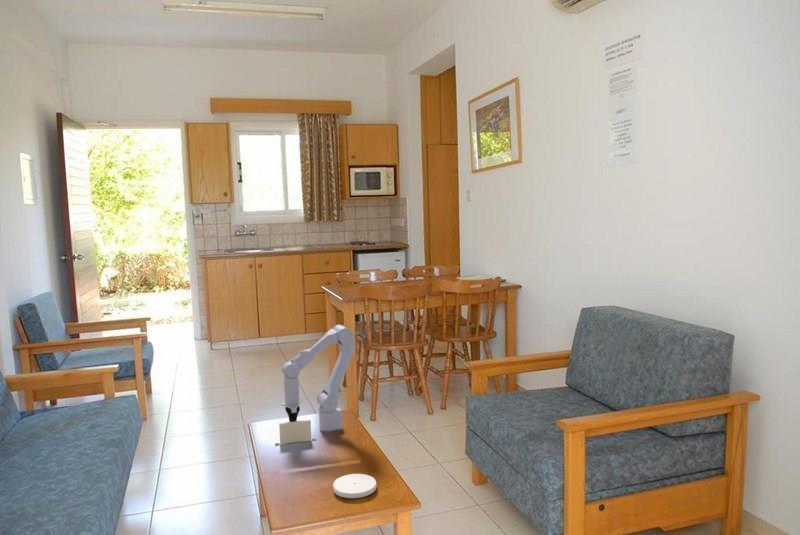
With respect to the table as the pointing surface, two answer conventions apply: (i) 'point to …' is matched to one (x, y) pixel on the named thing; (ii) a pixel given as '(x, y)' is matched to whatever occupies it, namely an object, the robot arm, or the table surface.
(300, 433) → the flap
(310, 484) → the table surface
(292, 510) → the table surface
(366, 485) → the plastic lid
